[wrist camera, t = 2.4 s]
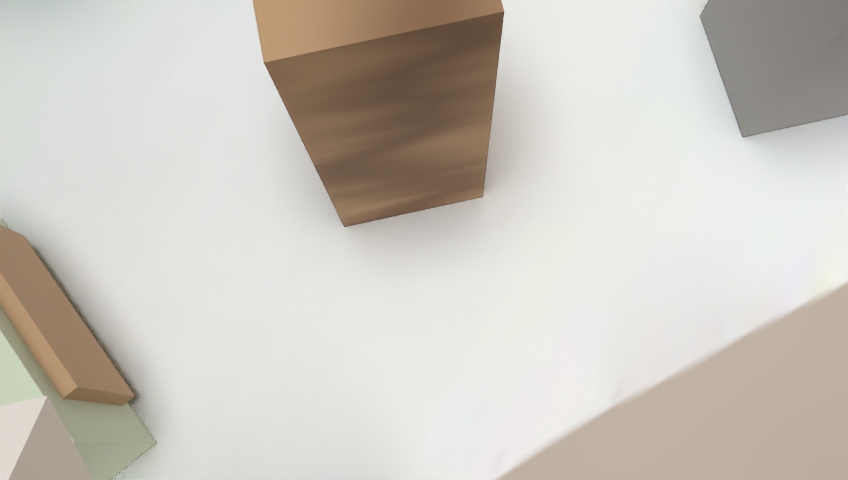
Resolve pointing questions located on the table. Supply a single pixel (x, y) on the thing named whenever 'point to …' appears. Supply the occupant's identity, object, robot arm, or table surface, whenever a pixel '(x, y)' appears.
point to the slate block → (780, 60)
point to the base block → (62, 363)
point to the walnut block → (387, 96)
